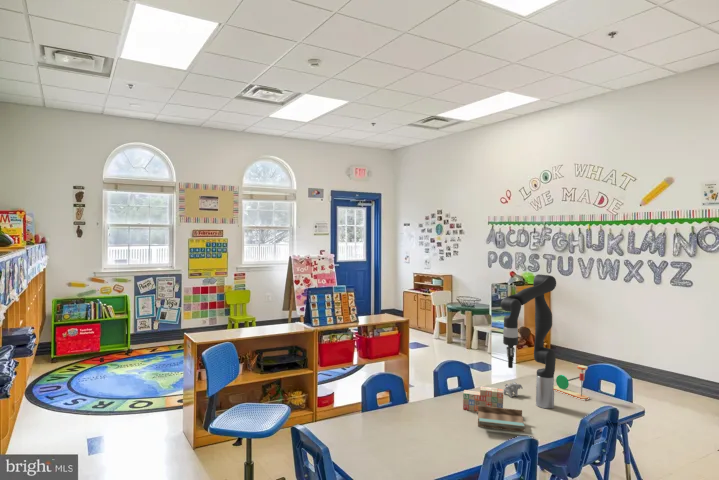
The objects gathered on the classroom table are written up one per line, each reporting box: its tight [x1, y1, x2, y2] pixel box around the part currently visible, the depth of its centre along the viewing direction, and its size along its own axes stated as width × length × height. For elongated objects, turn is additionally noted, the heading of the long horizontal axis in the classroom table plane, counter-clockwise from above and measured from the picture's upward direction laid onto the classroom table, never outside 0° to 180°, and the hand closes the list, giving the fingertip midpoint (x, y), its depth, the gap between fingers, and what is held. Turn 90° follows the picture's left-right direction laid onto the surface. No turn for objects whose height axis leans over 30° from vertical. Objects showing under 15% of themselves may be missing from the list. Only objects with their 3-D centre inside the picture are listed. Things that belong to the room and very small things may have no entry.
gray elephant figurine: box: [503, 381, 524, 398], centre depth 284 cm, size 9×12×8 cm
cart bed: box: [477, 406, 525, 433], centre depth 238 cm, size 22×12×6 cm, turn 76°
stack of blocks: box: [462, 386, 504, 412], centre depth 258 cm, size 21×6×12 cm, turn 73°
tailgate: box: [479, 418, 526, 430], centre depth 227 cm, size 21×1×8 cm
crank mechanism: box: [554, 364, 590, 400], centre depth 289 cm, size 25×7×19 cm, turn 29°
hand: (510, 367), depth 249 cm, fingers closed
